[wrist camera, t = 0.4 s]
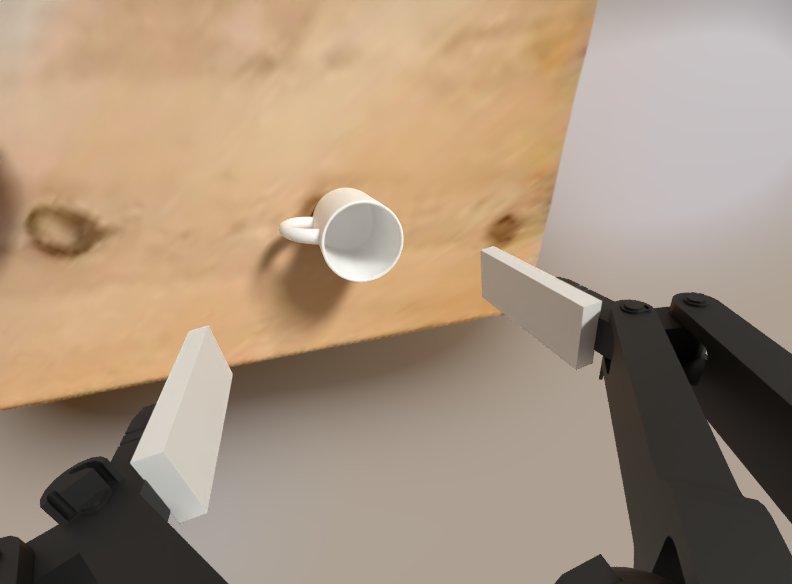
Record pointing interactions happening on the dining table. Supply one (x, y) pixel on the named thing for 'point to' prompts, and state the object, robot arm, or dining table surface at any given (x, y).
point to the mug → (350, 234)
